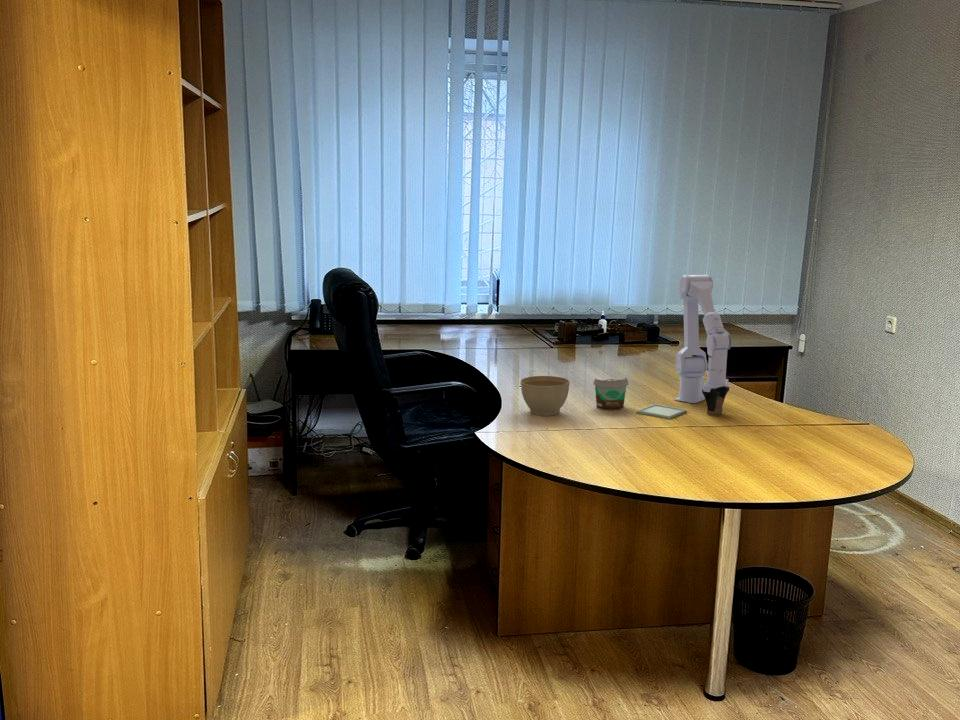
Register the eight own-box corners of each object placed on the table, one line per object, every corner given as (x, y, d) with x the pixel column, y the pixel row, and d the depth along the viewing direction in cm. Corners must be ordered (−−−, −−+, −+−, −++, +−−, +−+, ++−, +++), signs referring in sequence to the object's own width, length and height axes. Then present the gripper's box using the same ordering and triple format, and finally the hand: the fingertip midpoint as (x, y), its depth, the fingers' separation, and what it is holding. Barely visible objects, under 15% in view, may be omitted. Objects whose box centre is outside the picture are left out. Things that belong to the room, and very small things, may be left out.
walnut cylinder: (710, 411, 295) (711, 395, 294) (724, 413, 292) (725, 397, 291) (704, 414, 292) (705, 397, 290) (718, 416, 288) (719, 400, 287)
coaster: (654, 406, 301) (654, 403, 301) (686, 412, 294) (686, 409, 294) (636, 412, 292) (636, 410, 292) (669, 419, 285) (669, 416, 285)
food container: (599, 411, 293) (600, 382, 291) (592, 407, 299) (593, 378, 297) (633, 409, 297) (634, 380, 295) (625, 405, 302) (627, 376, 300)
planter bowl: (538, 404, 303) (539, 373, 301) (578, 412, 293) (579, 380, 291) (510, 413, 290) (510, 381, 288) (550, 421, 280) (551, 388, 278)
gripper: (718, 374, 281) (716, 415, 284) (738, 367, 292) (735, 407, 295) (698, 371, 285) (696, 412, 288) (718, 364, 296) (715, 404, 299)
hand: (714, 409), depth 292 cm, fingers closed on walnut cylinder, 5 cm apart
